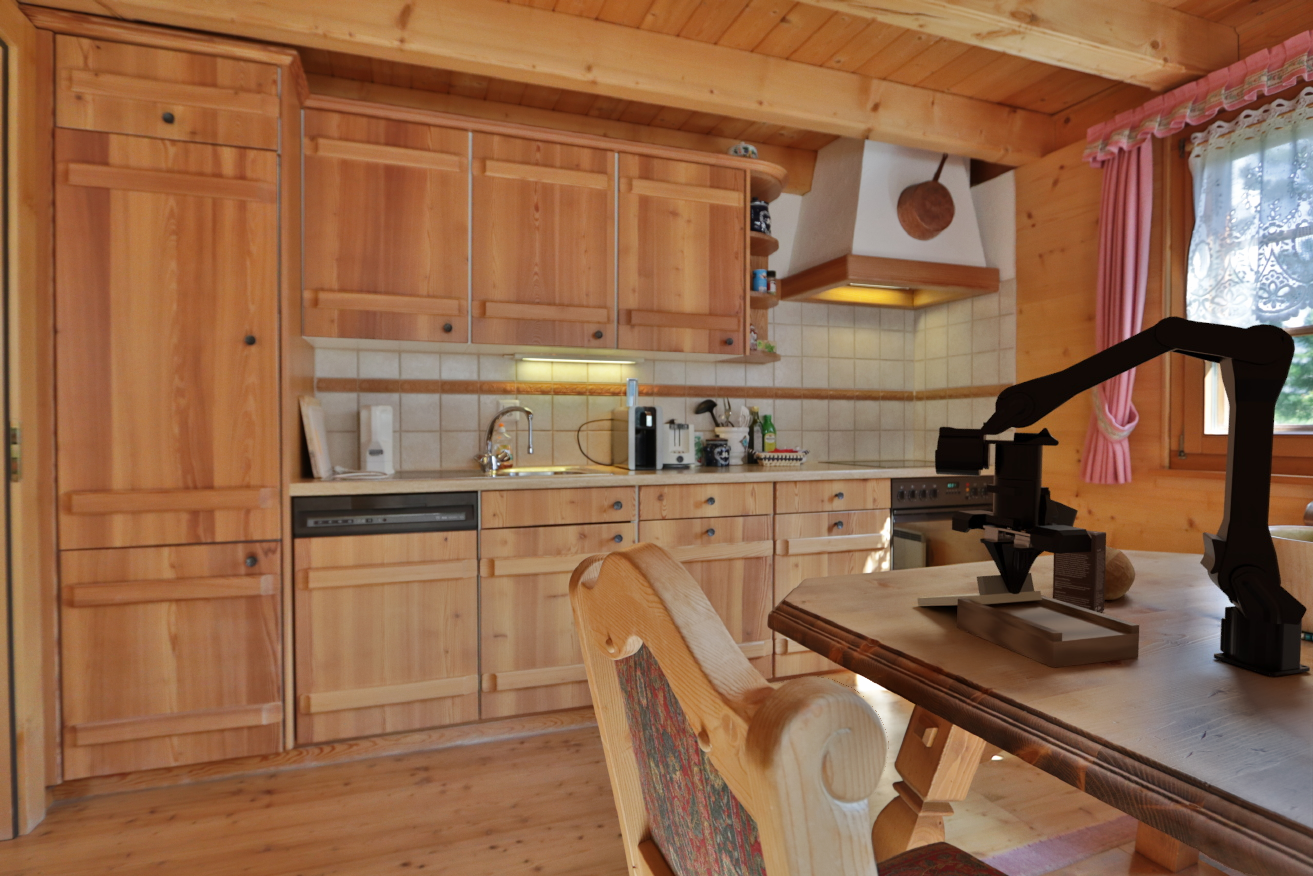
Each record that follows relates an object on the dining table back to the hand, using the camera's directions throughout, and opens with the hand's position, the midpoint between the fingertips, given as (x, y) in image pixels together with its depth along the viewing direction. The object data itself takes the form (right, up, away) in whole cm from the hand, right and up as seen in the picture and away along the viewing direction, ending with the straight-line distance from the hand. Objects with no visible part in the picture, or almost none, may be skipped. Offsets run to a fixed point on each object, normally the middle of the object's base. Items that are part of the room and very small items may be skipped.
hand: (1014, 593), depth 96 cm
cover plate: (-2, -3, +7) cm, 8 cm away
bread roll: (+25, -5, +22) cm, 33 cm away
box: (+15, -5, +11) cm, 20 cm away
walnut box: (+1, -5, -4) cm, 7 cm away
